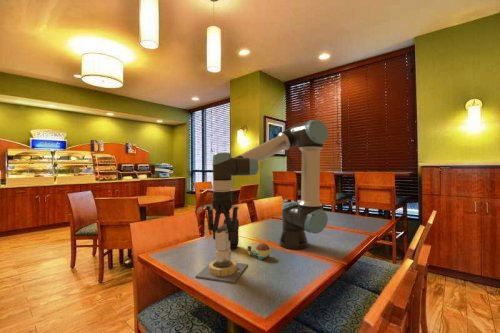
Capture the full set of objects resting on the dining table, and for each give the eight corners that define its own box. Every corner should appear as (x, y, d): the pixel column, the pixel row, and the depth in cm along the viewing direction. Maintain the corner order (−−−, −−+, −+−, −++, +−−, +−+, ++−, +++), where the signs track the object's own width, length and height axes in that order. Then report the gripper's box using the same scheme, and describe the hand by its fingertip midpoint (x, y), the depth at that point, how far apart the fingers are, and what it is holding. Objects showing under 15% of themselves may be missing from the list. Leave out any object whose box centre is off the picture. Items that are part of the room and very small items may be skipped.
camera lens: (236, 250, 119) (236, 221, 119) (221, 249, 120) (221, 220, 120) (240, 245, 127) (240, 217, 127) (226, 244, 128) (225, 217, 128)
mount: (247, 265, 101) (247, 258, 101) (234, 283, 86) (234, 275, 86) (213, 261, 106) (213, 254, 106) (195, 277, 90) (195, 269, 90)
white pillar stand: (233, 258, 99) (233, 224, 99) (226, 267, 90) (226, 229, 90) (219, 256, 101) (219, 223, 101) (211, 265, 92) (210, 228, 92)
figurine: (259, 254, 116) (257, 241, 117) (273, 256, 109) (271, 241, 110) (248, 259, 111) (245, 244, 112) (262, 261, 104) (260, 246, 105)
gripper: (244, 190, 97) (245, 246, 97) (206, 189, 101) (207, 243, 101) (239, 192, 90) (240, 253, 90) (198, 191, 94) (199, 249, 94)
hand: (222, 247), depth 96 cm, fingers closed on white pillar stand, 4 cm apart
